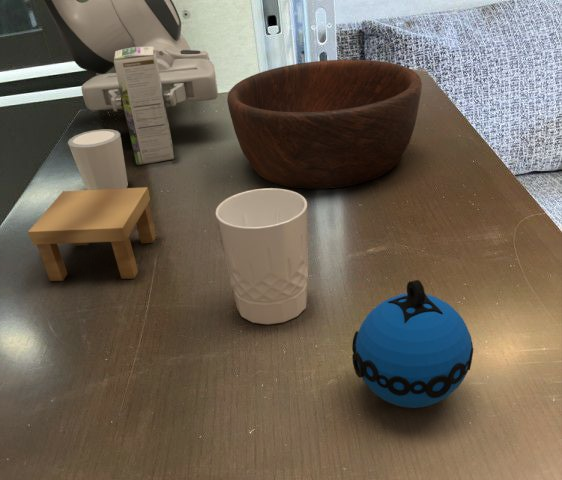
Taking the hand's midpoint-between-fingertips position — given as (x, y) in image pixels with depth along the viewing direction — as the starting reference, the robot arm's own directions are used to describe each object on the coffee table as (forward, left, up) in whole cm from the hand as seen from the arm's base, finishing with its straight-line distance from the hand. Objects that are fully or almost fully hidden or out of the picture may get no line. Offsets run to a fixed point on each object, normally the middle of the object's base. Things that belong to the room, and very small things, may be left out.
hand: (143, 103), depth 89 cm
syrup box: (0, +1, -8) cm, 8 cm away
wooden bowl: (+26, -5, -8) cm, 28 cm away
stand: (+2, -31, -8) cm, 32 cm away
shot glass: (-4, -11, -8) cm, 14 cm away
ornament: (+34, -54, -8) cm, 64 cm away
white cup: (+22, -41, -8) cm, 47 cm away
